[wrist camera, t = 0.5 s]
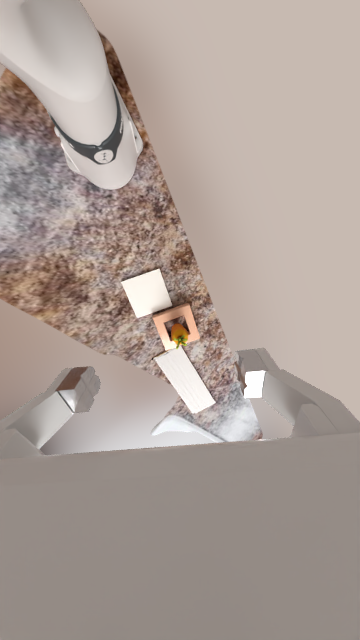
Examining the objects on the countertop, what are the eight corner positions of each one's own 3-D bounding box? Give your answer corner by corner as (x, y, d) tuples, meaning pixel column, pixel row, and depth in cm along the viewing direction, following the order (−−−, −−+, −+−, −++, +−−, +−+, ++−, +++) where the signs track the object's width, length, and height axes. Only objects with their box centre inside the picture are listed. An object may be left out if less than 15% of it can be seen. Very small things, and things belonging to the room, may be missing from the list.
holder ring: (153, 315, 55) (152, 318, 52) (187, 302, 55) (189, 305, 52) (165, 345, 59) (166, 350, 56) (197, 334, 59) (200, 338, 56)
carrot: (171, 333, 58) (176, 355, 44) (166, 321, 56) (170, 339, 42) (185, 328, 58) (194, 349, 44) (180, 316, 57) (188, 332, 42)
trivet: (121, 281, 51) (121, 281, 50) (159, 268, 51) (159, 268, 50) (137, 317, 55) (137, 318, 54) (172, 305, 55) (172, 305, 54)
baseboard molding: (189, 413, 71) (214, 399, 70) (190, 419, 68) (216, 405, 68) (150, 358, 61) (179, 342, 60) (149, 363, 58) (180, 346, 57)
